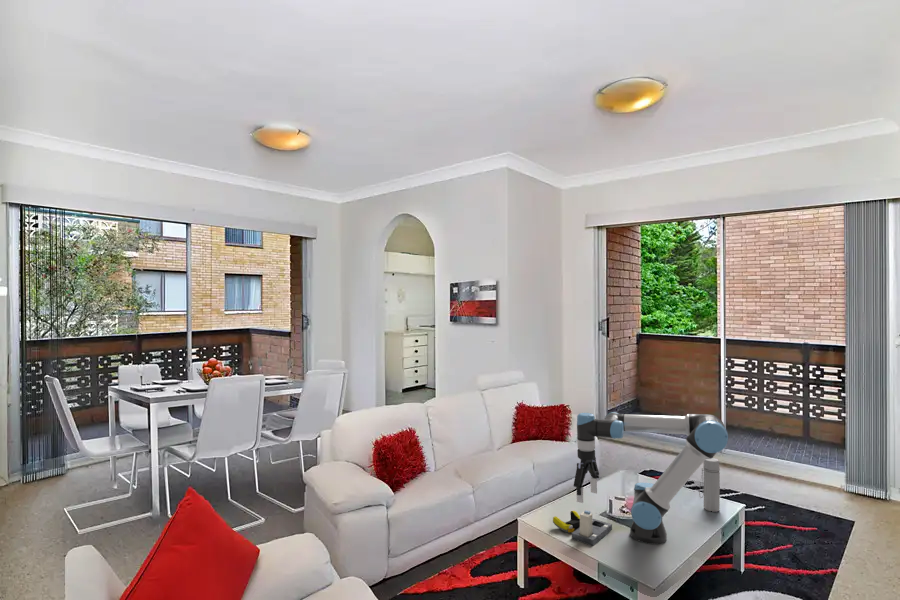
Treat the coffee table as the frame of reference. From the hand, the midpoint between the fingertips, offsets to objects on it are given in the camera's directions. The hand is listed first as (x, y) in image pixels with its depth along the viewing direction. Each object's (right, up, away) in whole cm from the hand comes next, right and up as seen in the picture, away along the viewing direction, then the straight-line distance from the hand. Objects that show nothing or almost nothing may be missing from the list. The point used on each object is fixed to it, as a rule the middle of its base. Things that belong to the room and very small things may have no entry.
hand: (587, 497), depth 230 cm
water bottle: (+69, -18, +32) cm, 78 cm away
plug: (0, -19, 0) cm, 19 cm away
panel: (+4, -18, +5) cm, 19 cm away
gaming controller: (-5, -19, +11) cm, 23 cm away
